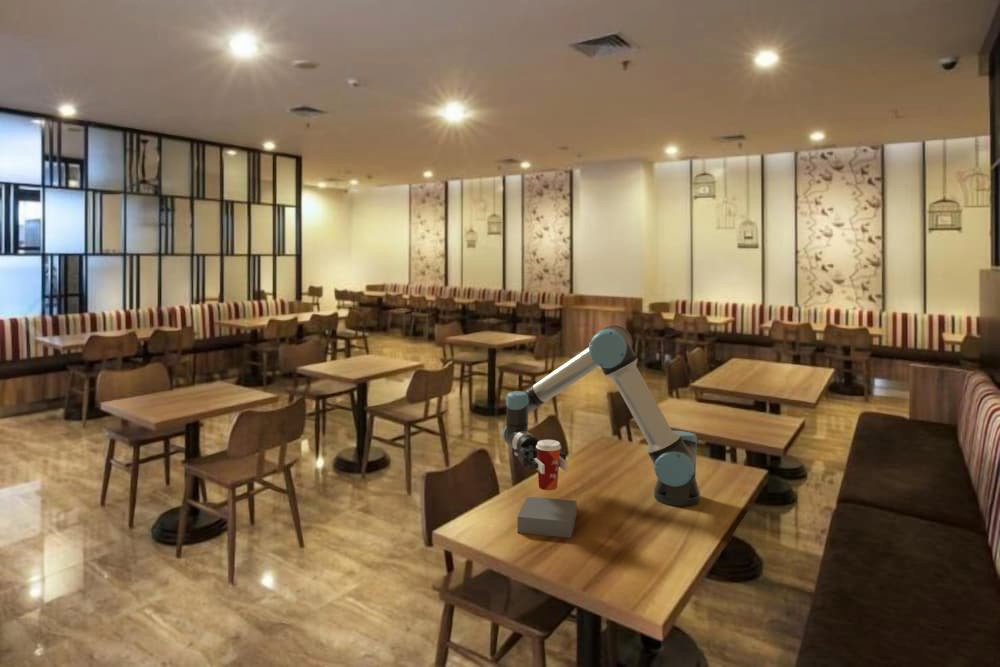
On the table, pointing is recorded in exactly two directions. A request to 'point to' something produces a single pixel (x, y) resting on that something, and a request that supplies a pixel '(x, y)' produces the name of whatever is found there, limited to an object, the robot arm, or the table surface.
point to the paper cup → (548, 463)
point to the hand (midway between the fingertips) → (554, 468)
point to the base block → (547, 517)
